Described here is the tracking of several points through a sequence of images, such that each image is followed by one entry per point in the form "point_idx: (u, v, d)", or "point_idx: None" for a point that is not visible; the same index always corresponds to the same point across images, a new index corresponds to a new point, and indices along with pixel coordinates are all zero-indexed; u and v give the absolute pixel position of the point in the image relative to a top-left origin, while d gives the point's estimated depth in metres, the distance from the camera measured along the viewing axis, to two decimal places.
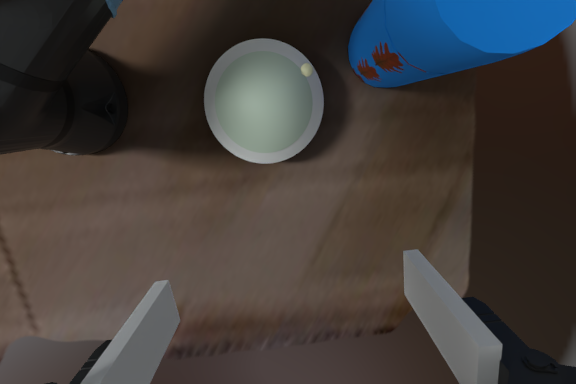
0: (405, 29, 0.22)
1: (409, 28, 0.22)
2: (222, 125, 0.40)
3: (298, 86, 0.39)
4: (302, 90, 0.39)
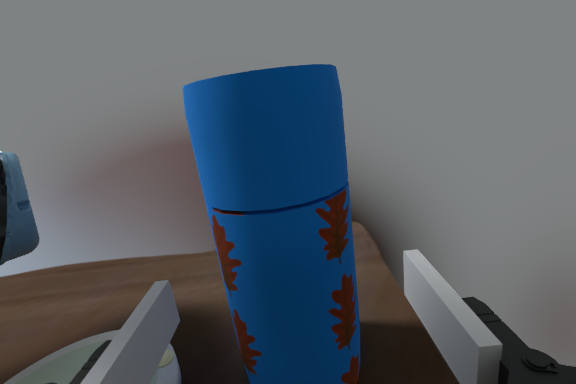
0: (196, 157, 0.20)
1: (193, 148, 0.20)
2: None
3: None
4: None
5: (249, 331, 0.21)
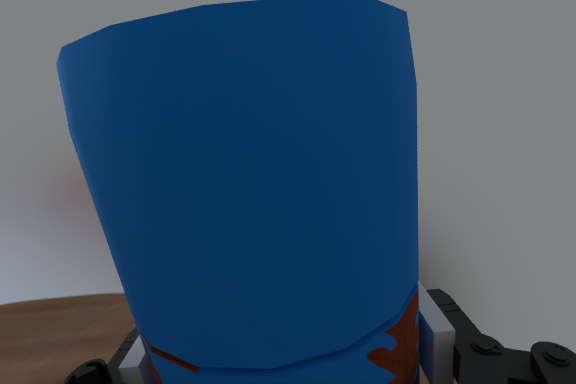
0: None
1: None
2: None
3: None
4: None
5: None
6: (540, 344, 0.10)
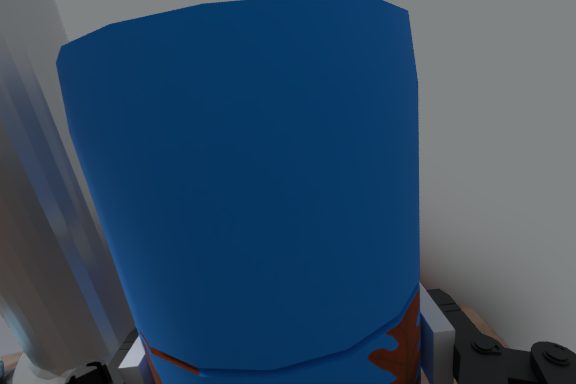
0: None
1: None
2: None
3: None
4: None
5: None
6: (540, 344, 0.10)
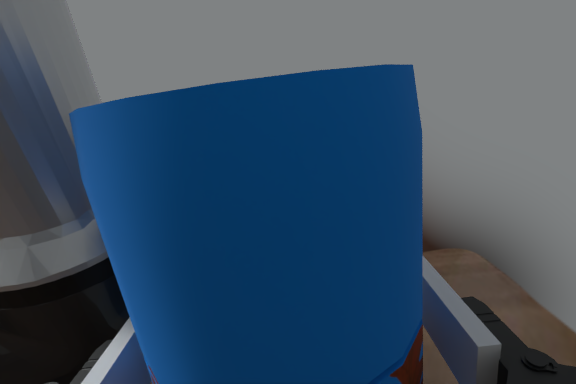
0: None
1: None
2: None
3: None
4: None
5: None
6: None
